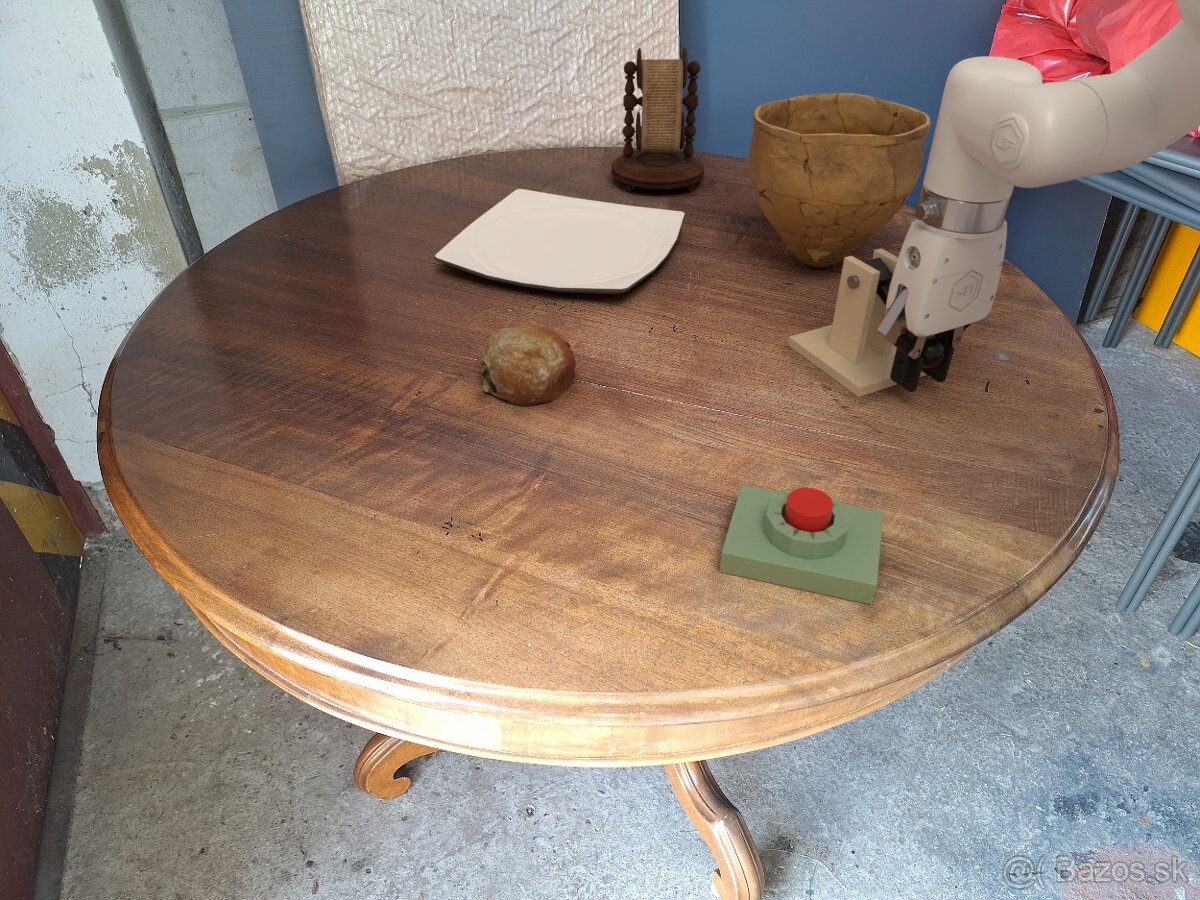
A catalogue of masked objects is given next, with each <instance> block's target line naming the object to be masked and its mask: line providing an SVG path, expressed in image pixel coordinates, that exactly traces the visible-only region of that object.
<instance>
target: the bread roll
mask: <svg viewBox="0 0 1200 900" xmlns="http://www.w3.org/2000/svg"><path fill="white" fill-rule="evenodd" d="M573 353H574V351H573V350H572V349H571V344H570V343H569V342H568V341H567V340H565V339H564V338H563V337H562V336H561V335H560V334H559V333H557V332H556V331H554V330H553V329H551V328H549V327H547V326H539V325H529V326H519V327H504V328H501V329H499V330H498V331H496V332H494V333H493V334H492V335H491V336H490V337H489V338H488V339H487V342H486V344H485V346H484V348H483V349H482V352H481V354H480V361H479V363H480V364H479V365H480V366H479V367H480V376H481V377H480V379H481V380H483V381H482V390H483V391H484V392H486V393H489V394H491V395H493V396H495V397H497V399H501V400H503V401H507V402H509V403H511V404H513V405H517V406H521V407H523V406H524V407H525V406H526V407H527V406H535V405H541V404H545V403H548V402H552V401H554V400H556V399H557V398H558V397H559V396H560V395H562V394H564V393H565V391H566V390H568V388H570V386H571V385H572V383H573V380H574V378H575V376H576V365H577V363H576V359H575V356H574V354H573Z"/></svg>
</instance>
